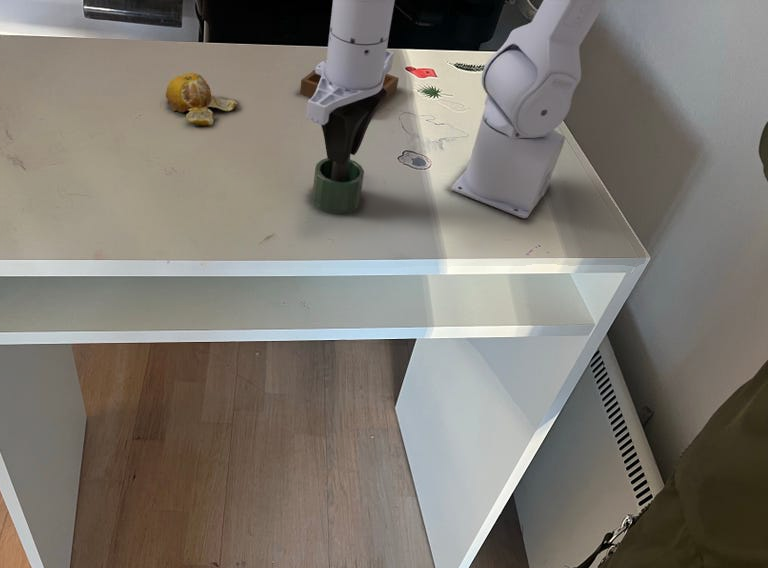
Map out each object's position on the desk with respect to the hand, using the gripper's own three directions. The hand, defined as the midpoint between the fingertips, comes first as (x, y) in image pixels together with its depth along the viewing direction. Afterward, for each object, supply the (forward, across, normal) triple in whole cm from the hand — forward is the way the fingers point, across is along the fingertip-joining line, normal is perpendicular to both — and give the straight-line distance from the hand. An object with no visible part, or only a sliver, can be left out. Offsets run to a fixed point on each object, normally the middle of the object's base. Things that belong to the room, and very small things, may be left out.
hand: (342, 155), depth 82 cm
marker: (+4, 0, 0) cm, 4 cm away
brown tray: (+6, -23, -11) cm, 26 cm away
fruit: (+6, -6, -24) cm, 25 cm away
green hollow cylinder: (+6, 0, 0) cm, 6 cm away
